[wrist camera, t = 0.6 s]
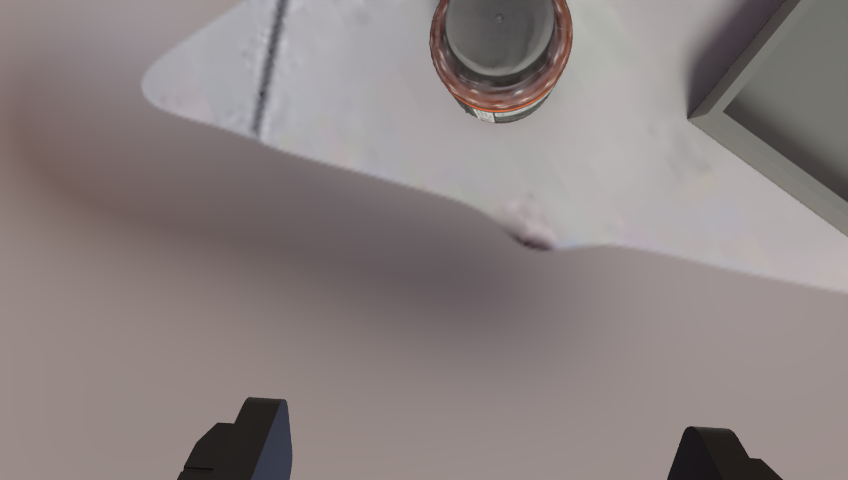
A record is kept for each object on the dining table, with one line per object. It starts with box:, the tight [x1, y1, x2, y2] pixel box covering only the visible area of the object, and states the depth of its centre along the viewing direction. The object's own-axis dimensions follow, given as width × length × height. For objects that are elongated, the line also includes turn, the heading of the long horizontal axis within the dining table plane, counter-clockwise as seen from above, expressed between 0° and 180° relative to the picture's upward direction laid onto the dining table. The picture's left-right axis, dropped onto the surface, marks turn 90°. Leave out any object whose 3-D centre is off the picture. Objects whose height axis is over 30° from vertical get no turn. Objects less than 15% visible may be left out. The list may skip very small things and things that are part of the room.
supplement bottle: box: [429, 0, 573, 123], centre depth 25 cm, size 6×6×11 cm
